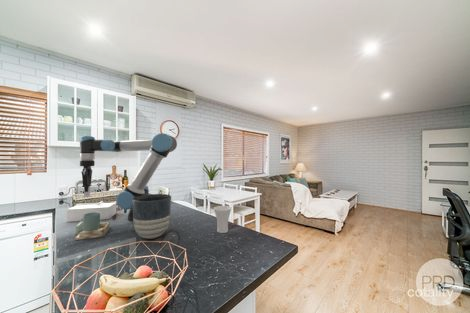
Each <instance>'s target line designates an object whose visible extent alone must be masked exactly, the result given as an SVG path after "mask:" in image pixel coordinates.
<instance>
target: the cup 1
mask: <svg viewBox="0 0 470 313" xmlns="http://www.w3.org/2000/svg"><path fill="white" fill-rule="evenodd" d="M100 223H101V219H100V213H99V212H92V213H87V214H84V215H83V230H84V231H85V232H86V231H94V230H98V229H99V226H100Z"/></svg>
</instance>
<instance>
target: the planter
mask: <svg viewBox="0 0 470 313" xmlns="http://www.w3.org/2000/svg"><path fill="white" fill-rule="evenodd" d="M132 205H133V221H132V222H133V227H134V230H135V232H136V233H137V235H138V236H139V237H141V238H142V239H147V240H149V239H150V240H152V239H156V238H159V237H160V236H162V235H163V234H164V233H165V232H166V231H167V229H168V228H169V226H170V222H171V208H172V195H170V194H168V193H166V194H164V193H154V194H153V193H151V194H148V195H143V196H138V197H135V198H133V199H132Z"/></svg>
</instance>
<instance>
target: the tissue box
mask: <svg viewBox="0 0 470 313" xmlns="http://www.w3.org/2000/svg"><path fill="white" fill-rule="evenodd" d="M66 211H67V212H66V217H67V218H66V221H67V223H69V222H70V223H71V222H81V219H82V218H83V215H84V214H87V213H92V212H99V213H100V220H110V219H111V218H112V217H113V216H114V215H116V214H117V202H104V201H103V200H100V202H91V203H89V202H88V203H87V202H86V203H76V204H75V205H73V206H72V207H70V208H67V209H66Z"/></svg>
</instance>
